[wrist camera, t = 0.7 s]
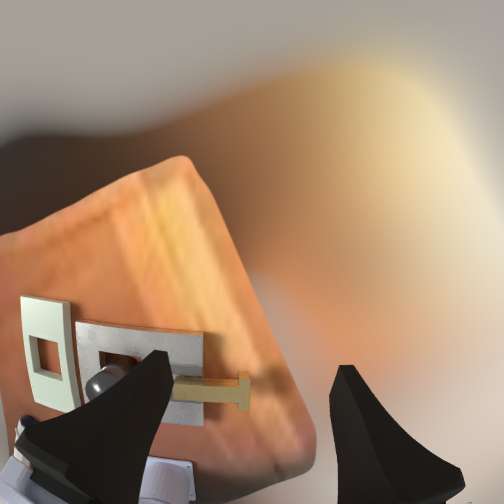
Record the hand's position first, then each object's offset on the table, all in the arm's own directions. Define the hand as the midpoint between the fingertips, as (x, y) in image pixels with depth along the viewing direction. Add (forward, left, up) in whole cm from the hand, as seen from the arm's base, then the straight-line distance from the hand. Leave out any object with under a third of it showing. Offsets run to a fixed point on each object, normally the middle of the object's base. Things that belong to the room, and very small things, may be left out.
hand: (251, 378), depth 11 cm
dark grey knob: (-9, +14, -21) cm, 27 cm away
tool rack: (-9, +26, -21) cm, 34 cm away
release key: (-9, +2, -19) cm, 21 cm away
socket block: (-9, +12, -21) cm, 26 cm away
